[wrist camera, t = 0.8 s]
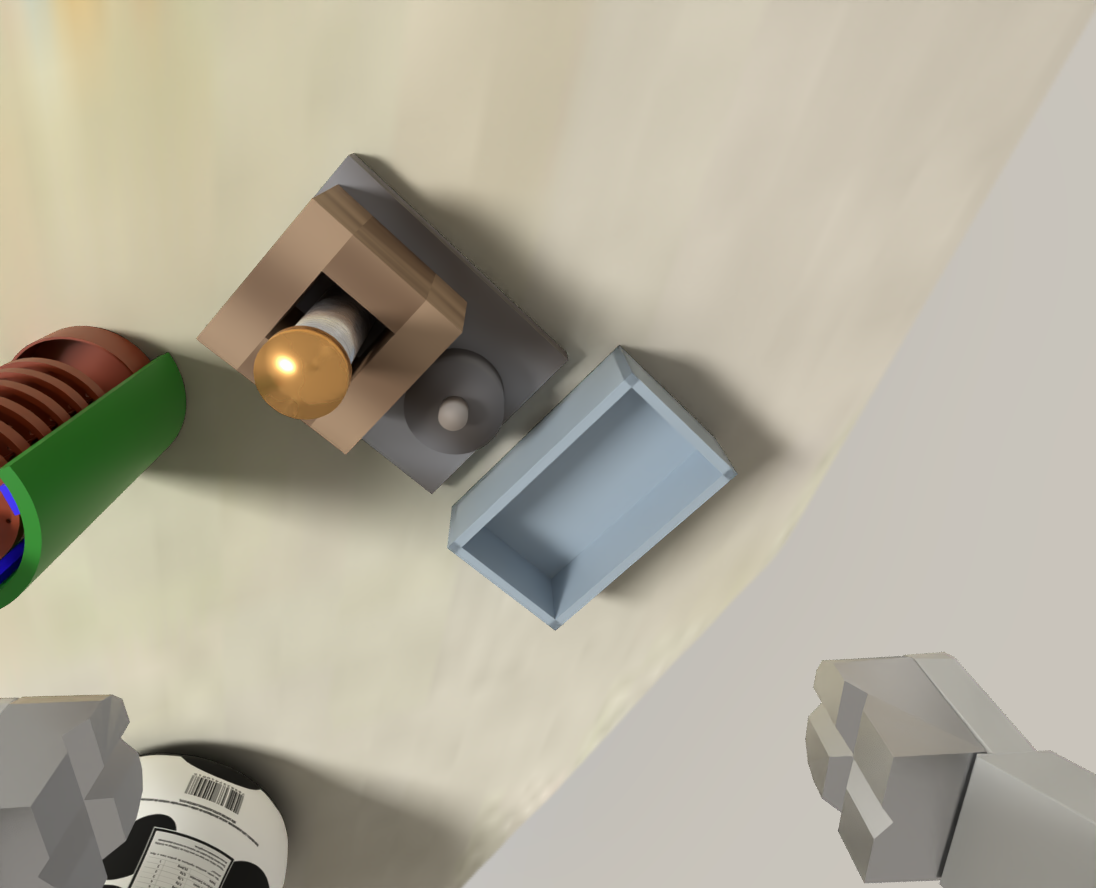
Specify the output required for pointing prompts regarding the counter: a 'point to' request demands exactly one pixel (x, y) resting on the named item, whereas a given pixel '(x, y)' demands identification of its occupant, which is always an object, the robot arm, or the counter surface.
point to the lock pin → (313, 357)
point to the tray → (588, 491)
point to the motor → (75, 439)
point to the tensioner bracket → (394, 327)
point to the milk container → (200, 830)
